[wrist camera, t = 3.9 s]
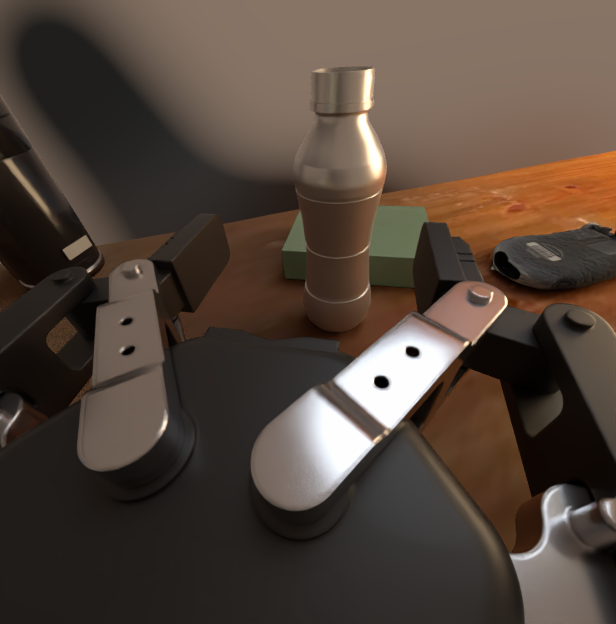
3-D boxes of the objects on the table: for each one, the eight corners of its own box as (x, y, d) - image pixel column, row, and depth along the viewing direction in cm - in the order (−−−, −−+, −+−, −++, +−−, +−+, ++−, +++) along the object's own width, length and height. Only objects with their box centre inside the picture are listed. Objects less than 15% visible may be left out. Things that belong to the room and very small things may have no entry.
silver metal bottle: (381, 326, 29) (429, 66, 15) (320, 350, 27) (313, 78, 13) (348, 290, 33) (363, 62, 19) (294, 308, 31) (269, 71, 18)
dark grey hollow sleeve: (560, 246, 40) (472, 252, 37) (595, 210, 36) (500, 213, 32) (620, 294, 35) (524, 307, 31) (670, 258, 30) (565, 267, 27)
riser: (284, 278, 36) (281, 250, 33) (304, 228, 45) (303, 203, 42) (429, 289, 33) (438, 259, 30) (418, 233, 42) (424, 206, 39)
